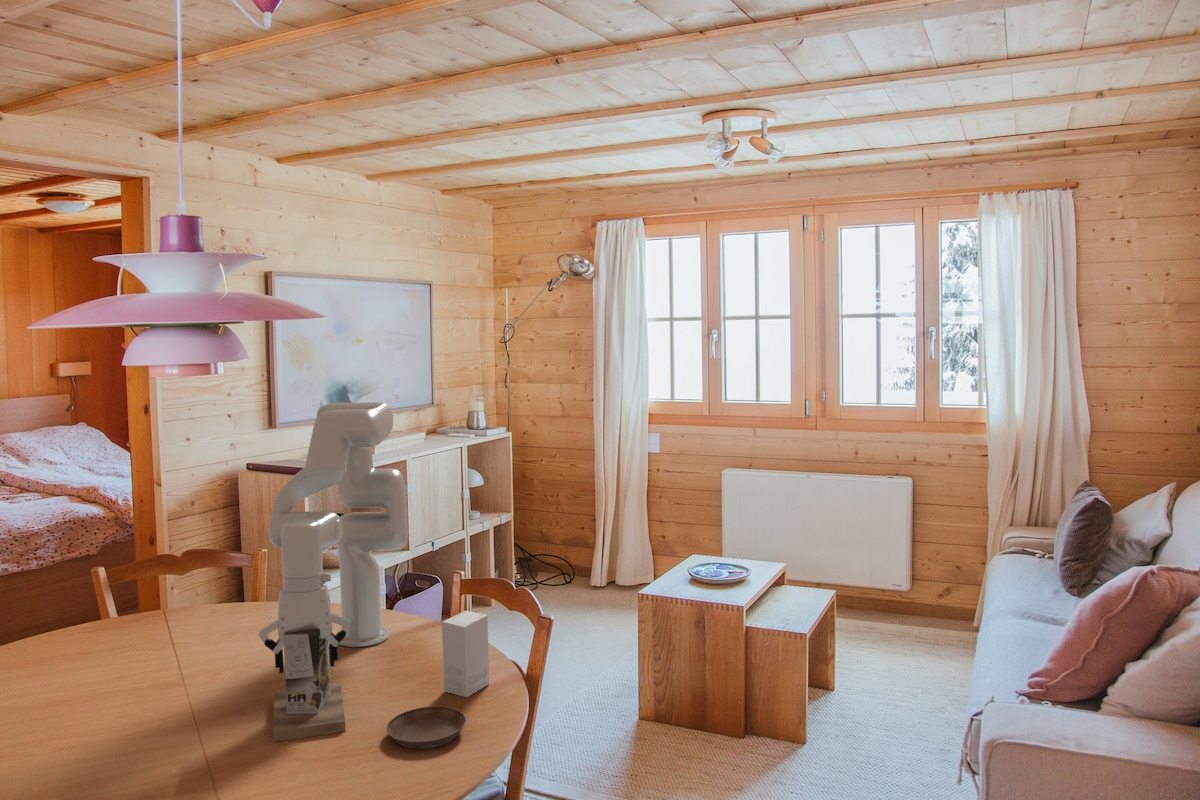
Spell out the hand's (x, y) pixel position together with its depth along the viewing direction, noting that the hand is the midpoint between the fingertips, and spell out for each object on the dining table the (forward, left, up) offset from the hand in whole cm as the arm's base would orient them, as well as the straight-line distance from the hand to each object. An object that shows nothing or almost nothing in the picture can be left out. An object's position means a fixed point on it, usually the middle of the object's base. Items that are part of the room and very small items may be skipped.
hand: (307, 667), depth 179 cm
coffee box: (0, 0, -8) cm, 8 cm away
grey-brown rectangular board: (0, 0, -10) cm, 10 cm away
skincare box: (-2, +32, -10) cm, 34 cm away
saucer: (+17, +21, -10) cm, 29 cm away
